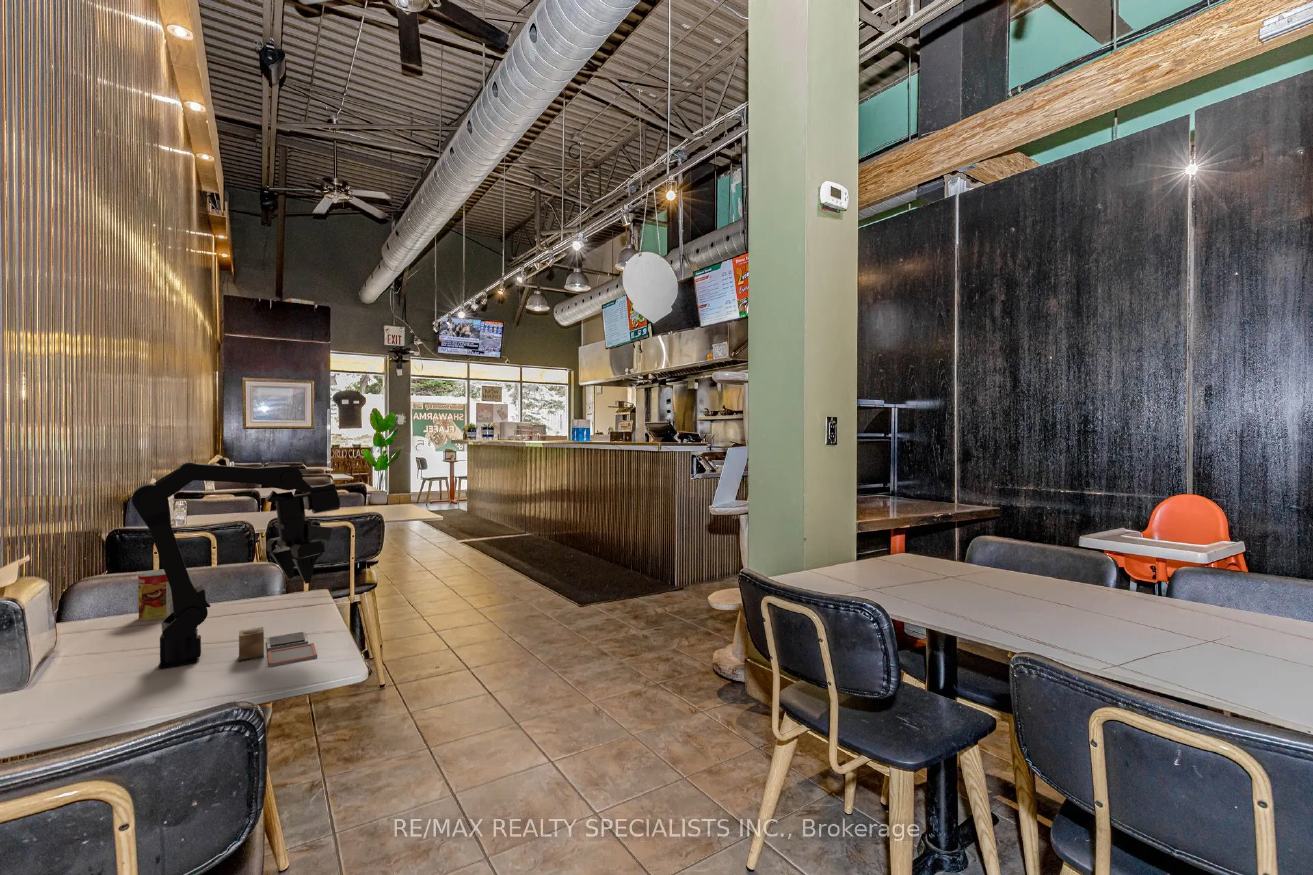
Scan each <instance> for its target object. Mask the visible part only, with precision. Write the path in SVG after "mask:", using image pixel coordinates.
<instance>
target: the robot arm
mask: <svg viewBox="0 0 1313 875" xmlns="http://www.w3.org/2000/svg"><path fill="white" fill-rule="evenodd" d="M303 477H304V476H303V474H302V472H301V470H300V469H299V468H297V467H296V466H291V465H286V464H285V465H284V464H283V465H282V464H281V465H270V466H260V467H246V466H232V465H222V464H221V465H220V464H205V463H203V464H202V463H196V462H191V461H189V462H185V463H182V464H181V465H180V466H179V467H177V468H176V469H173V471H171V472H170V473H167V474H166V475H164V476H162V478H160V479H158V480H156V481H155V482H153V483H144V484H142V485H140V486H138V487H137V488H136V489H135V490H134V492H133V493H132V496H131V497H132V498H131V502H132V505H133V507H134V508H135V510H136V512H137V514H138V515H139V516H140V518H141V519H142V521H143V523H144V524H145V525H146V527H147V528H148V529H149V532H150V535H151V537H152V539H153V543H154V546H155V548H156V551H157V554H158V557H159V560H160V563H161V565H162V567H163V568H162V569H164V571H165V574H166V577H167V579H168V582H169V585H170V588H171V595H172V604H173V612H172V613H171V614H170V615H169V616H168V617H167V618H164V619H162V621H161V622H160V623H161V635H160V636H159V664H158V669H160V670H161V669H166V668H172V667H177V666H183V665H184V666H185V665H189V664H196V663H197V662H198V660H199V658H200V657H201V655H202V636H201V635H200V634H198V633H199V630H198V626H200V625H201V624H203V623H204V622H205V620H206V619H207V618H208V613H209V612H208V608H211V604H210V600H209V599H208V598H207V597H206V590H205V587H204V585H203V584H200V585H198V586H195V585H194V583H193V581H192V580H191V579H190V578H191V577H190V575H189V571H188V570H187V567H186V564H185V563H186V562H185V561H184V558H183V555H182V553H181V552H182V551H181V549H180V547H179V544H178V541H177V538H176V535H175V531H174V530H173V527H172V525H171V516H170V515H171V514H170V507H169V506H170V505H169V498H171V497H172V496H173V495H175V494H176V493H178V492H179V491H180V490H182V489H184V487H185V486H187V485H189V484H190V483H191V482H194V481H195V482H197V481H198V482H199V481H201V482H202V481H203V482H220V483H238V484H256V485H259V486H264V487H268V488H273V489H277V490H278V489H279V490H283V491H285V492H276V491H275V490H271V492H270V494H269V495H268V496H267V497H265V501H266V502H267V503H273V502H275V507H276V516H277V517H276V518H277V522H275V523H274V526H275V528H276V529H278V532H279V536H278V537H273V538H269V539H268V540H267V541H266V542H265V551H266V552H268V554H269V555H270V556H271V557H272V559H273V560H274V562H276V564H277V565H278V566H279V569H280V570H281V571H282V572H283V574H284V575H285V576H286V578H287V579H288V580H291V579H294V576H295V574H294V573H295V567H296V569H297V571H298V573H299V575H300V577H301V579H302V580H303V583H304V584H305V585H307V584H311V582H312V578H313V577H312V576H313V572H314V569H315V564H316V562H317V560H318V559H319V558H320V557H321V556H323V555H324V553H326V552H327V549H326V548H327V547H326V543H324V541H331V538H332V535H333V530H334V527H329V526H321V523H320V522H318V521H311V520H310V519H307V518H306V511H305V510H307V511H311V512H312V514H320V513H326V512H333V511H338V510H340V506H341V502H340V501H341V500H340V496H339V494H338V493H339V492H338V490H337V488H336V483H333V482H332V483H331V482H330V483H326V484H323V485H315V486H311V484H310V483H308V482H307V481H305V480H304V479H303ZM293 490H296V491H299V492H301V493H300V494H299V493H298V494H293V492H292V491H293ZM304 500H305V501H304ZM304 502H305V503H304ZM305 508H306V509H305ZM322 540H324V541H322Z"/></svg>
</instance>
